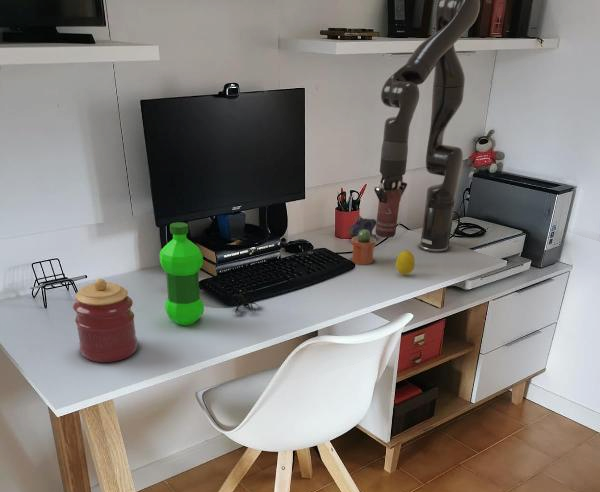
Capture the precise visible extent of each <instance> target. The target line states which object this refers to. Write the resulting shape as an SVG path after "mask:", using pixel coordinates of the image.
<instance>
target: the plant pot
mask: <svg viewBox="0 0 600 492" xmlns="http://www.w3.org/2000/svg"><path fill="white" fill-rule="evenodd" d="M351 245H352V257H351V262H353V263H354V264H357V265H370V264H372V263H373V262H374V250H375V249H374V248H375V247H376V245H377V238H376V239H375V238H372V237H371V234H370V232H369V231H368V230H365V229H364V230H361V231H360V232H359V234H358V236H356V237H351Z"/></svg>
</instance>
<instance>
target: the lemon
mask: <svg viewBox="0 0 600 492" xmlns="http://www.w3.org/2000/svg"><path fill="white" fill-rule="evenodd" d="M395 268H396V270H397V272H398V273H400V274H401V275H402V276H407V275H408V274H410V273H411V272H412V271H413V270H414V268H415V256H414V255H413V253H412V252H411V251H409V250H407V249H406V250H403V251H401V252H399V254H398V255H397V258H396V260H395Z"/></svg>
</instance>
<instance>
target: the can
mask: <svg viewBox="0 0 600 492" xmlns="http://www.w3.org/2000/svg"><path fill="white" fill-rule="evenodd" d="M401 193H402V191H401V189H397V190H396V189H395V190H394V191H392V190H388V191H386V190H385V194H386V197H387V203H386V204H385V203H383V202H380V201H379V200H378V204H377V215H376V225H375V230H374V231H375V235H376V237H377V236H378V237H380V238H394V237H395V235H396V232H397V227H398V226H397V225H398V218H399V210H400V203H401V199H402V196H401ZM381 200H382V201H384V200H383V199H381Z"/></svg>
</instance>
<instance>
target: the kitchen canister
mask: <svg viewBox="0 0 600 492" xmlns="http://www.w3.org/2000/svg"><path fill="white" fill-rule="evenodd" d="M128 294H129V292H128V290H127V289H126V288H125V287H123V286H120V285H119V284H118V283H114V282H107V281H106V280H105V279H104V278H97V279H96V280H95V281H94V282H93V283H89V284H87V285H85V286H83V287H82V288H81V289H79V290H78V291H77V292H76V293H75V299H76V300H75V301H74V303H73V304H72V308H73V310H74V311H75V312H76V316H75V318H74V319H75V320H74V322H75V323H76V328H77V333H78V340H79V342H78V343H79V350H80V352H81V355H82V356H83V358H85V359H87V360H89V361H91V362H97V363H111V362H118V361H121V360H124V359H127V358H129V357H131V356H133V355H134V354H135V352H136V351H137V349H138V337H137V334H136V325H135V313H134V312H133V310H132V306H133V304H134V301H133V299H132V298H131V297H130V296H129V295H128Z"/></svg>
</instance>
